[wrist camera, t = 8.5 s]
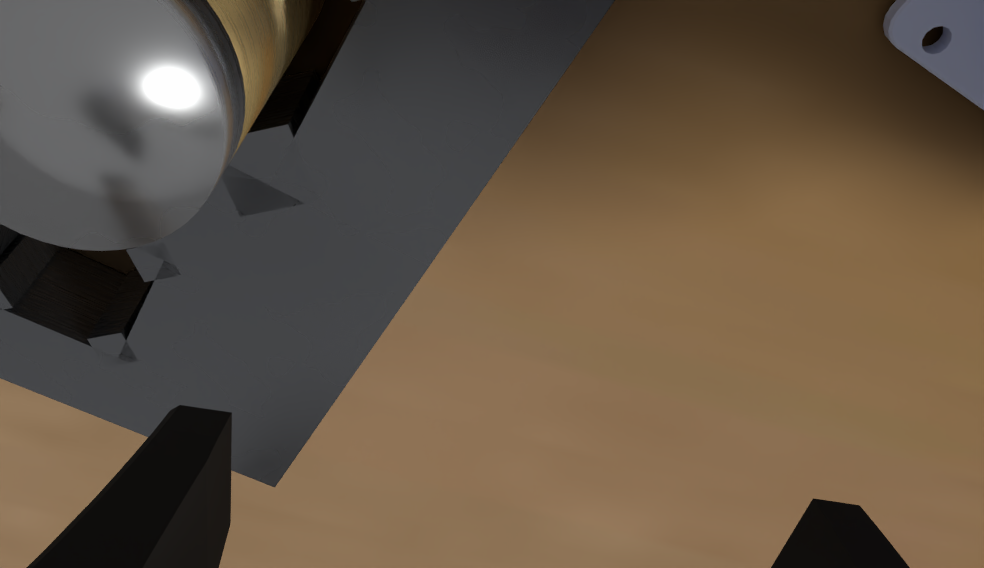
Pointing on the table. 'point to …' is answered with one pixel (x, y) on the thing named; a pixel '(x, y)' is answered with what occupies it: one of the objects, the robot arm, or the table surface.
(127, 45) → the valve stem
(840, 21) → the table surface
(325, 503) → the table surface
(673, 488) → the table surface
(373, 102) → the block
